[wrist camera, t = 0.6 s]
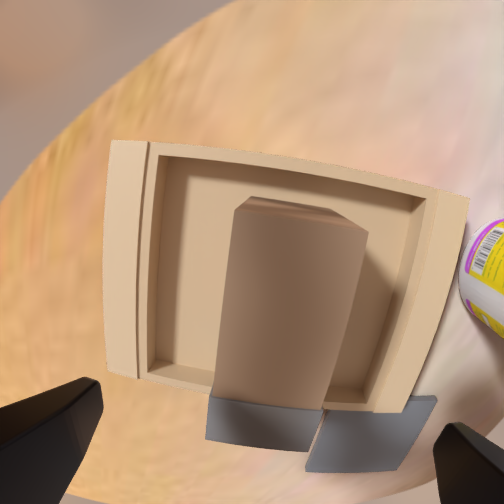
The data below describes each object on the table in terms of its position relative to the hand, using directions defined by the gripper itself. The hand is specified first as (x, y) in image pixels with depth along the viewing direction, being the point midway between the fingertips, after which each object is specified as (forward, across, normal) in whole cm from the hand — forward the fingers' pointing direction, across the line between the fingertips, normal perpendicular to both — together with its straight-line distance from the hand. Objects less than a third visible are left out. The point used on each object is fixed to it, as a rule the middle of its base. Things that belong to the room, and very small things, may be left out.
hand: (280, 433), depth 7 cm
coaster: (+11, -9, +11) cm, 18 cm away
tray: (+11, 0, 0) cm, 11 cm away
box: (+11, 0, 0) cm, 11 cm away
